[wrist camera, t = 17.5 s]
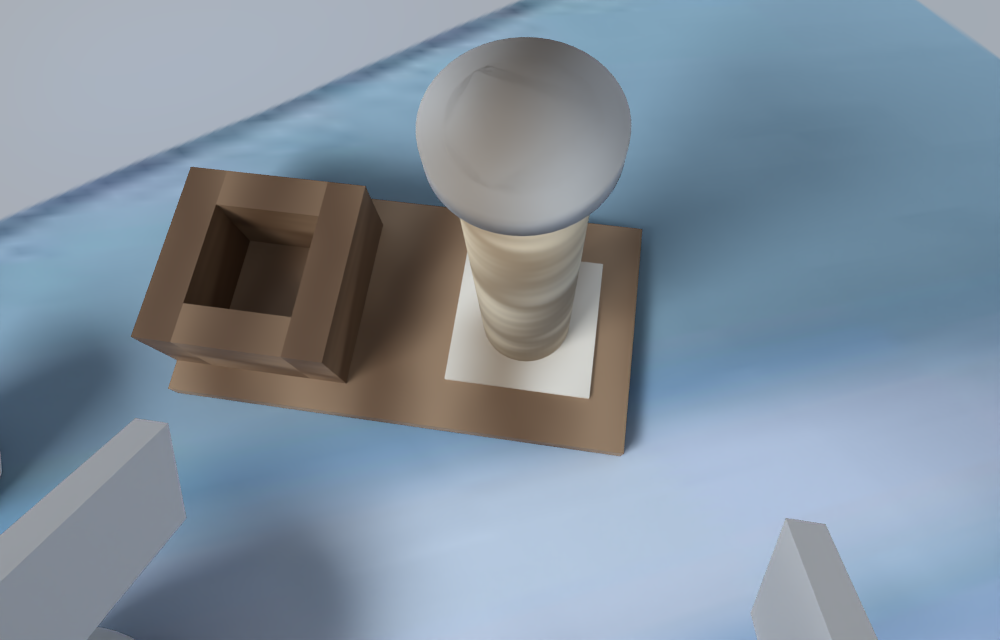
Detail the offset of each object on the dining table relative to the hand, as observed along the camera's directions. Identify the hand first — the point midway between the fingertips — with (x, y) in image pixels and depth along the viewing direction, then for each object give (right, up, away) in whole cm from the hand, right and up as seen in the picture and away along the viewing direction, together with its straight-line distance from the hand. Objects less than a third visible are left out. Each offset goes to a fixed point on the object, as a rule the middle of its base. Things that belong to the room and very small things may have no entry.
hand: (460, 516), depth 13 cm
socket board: (-4, +5, +20) cm, 21 cm away
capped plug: (+2, +4, +18) cm, 19 cm away
